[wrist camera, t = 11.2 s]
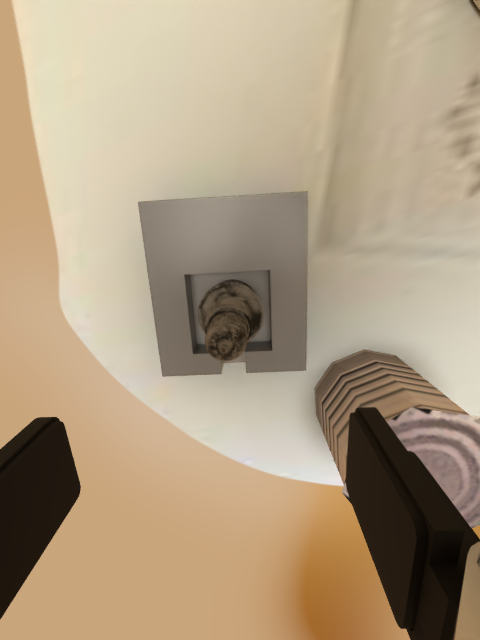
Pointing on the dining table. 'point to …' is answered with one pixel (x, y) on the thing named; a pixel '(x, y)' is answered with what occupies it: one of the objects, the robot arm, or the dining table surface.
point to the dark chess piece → (230, 318)
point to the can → (404, 422)
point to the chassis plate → (228, 275)
